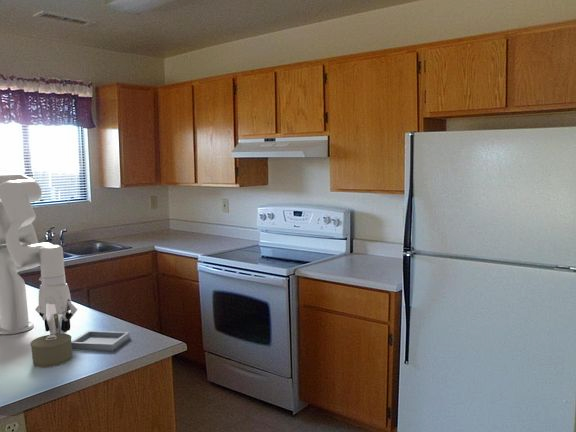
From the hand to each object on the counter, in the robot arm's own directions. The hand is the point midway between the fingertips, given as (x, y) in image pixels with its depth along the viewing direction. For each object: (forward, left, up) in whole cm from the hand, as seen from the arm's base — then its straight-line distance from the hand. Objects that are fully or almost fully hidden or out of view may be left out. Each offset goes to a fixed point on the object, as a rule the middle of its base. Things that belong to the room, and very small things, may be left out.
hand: (57, 330), depth 182 cm
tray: (+16, 0, -4) cm, 17 cm away
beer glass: (0, 0, -5) cm, 5 cm away
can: (+8, -15, -5) cm, 18 cm away
